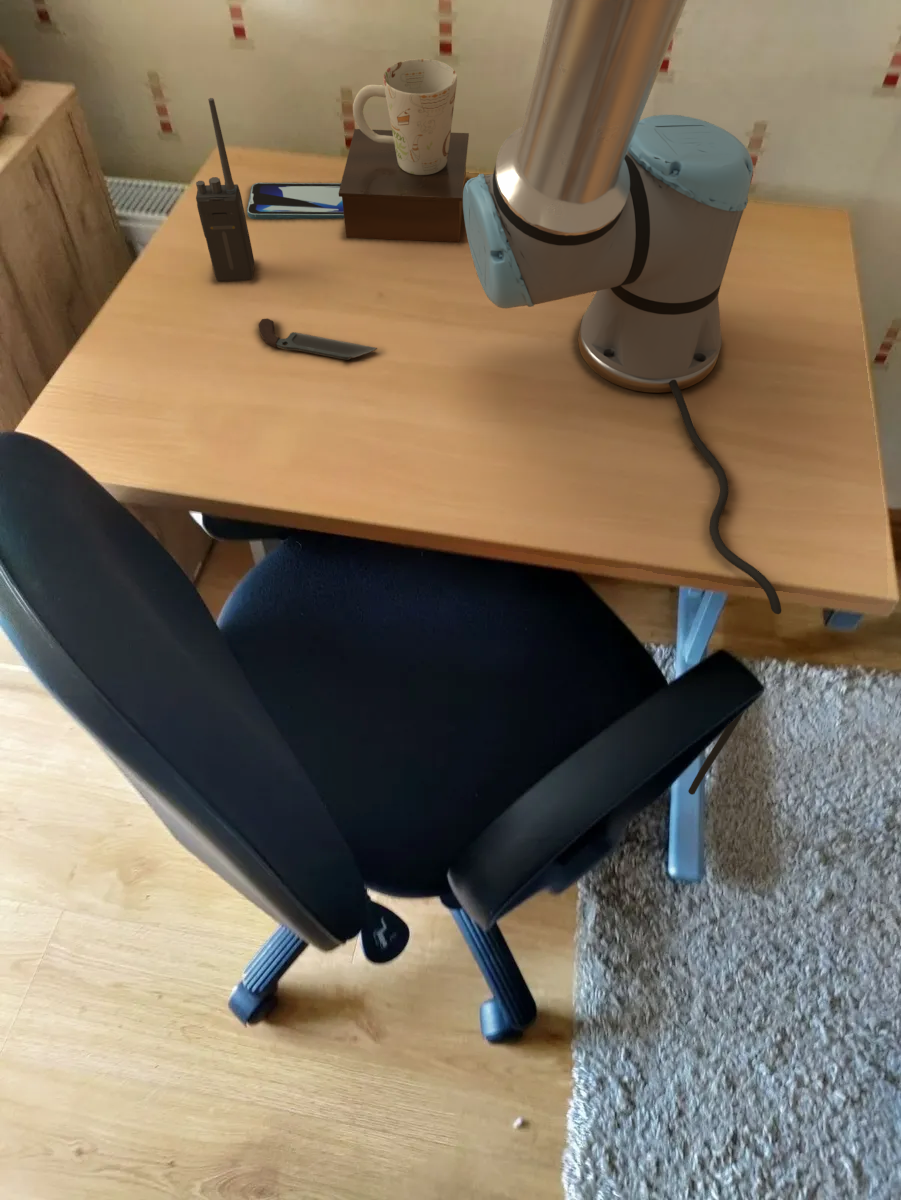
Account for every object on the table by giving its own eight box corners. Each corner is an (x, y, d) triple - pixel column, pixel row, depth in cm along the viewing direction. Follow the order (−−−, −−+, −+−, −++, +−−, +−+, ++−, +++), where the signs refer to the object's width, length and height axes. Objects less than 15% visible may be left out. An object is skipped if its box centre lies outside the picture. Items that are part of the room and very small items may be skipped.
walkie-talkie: (256, 262, 106) (221, 89, 90) (254, 280, 104) (218, 105, 88) (216, 264, 106) (173, 90, 90) (214, 281, 104) (169, 107, 88)
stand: (461, 243, 108) (461, 197, 103) (343, 238, 109) (338, 192, 104) (468, 178, 117) (468, 132, 112) (358, 174, 117) (354, 128, 112)
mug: (449, 184, 105) (449, 97, 97) (347, 173, 106) (338, 86, 98) (462, 147, 110) (463, 61, 101) (364, 137, 111) (357, 52, 103)
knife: (249, 343, 98) (248, 338, 97) (263, 321, 100) (262, 316, 99) (369, 367, 95) (368, 362, 95) (381, 343, 98) (380, 338, 97)
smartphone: (365, 215, 111) (246, 214, 111) (366, 222, 112) (247, 221, 112) (367, 183, 115) (252, 182, 115) (367, 190, 116) (253, 189, 116)
